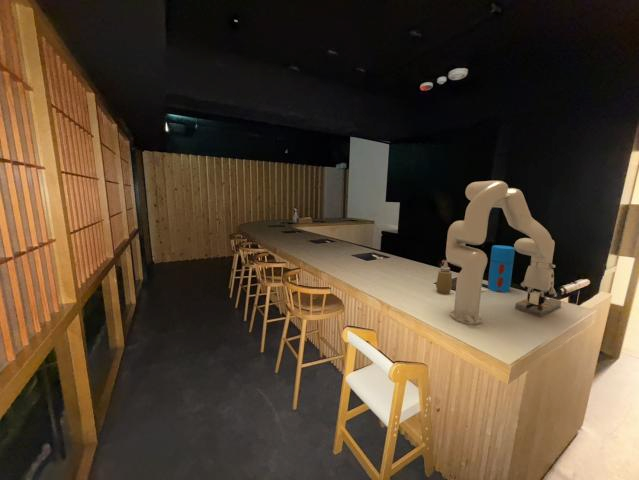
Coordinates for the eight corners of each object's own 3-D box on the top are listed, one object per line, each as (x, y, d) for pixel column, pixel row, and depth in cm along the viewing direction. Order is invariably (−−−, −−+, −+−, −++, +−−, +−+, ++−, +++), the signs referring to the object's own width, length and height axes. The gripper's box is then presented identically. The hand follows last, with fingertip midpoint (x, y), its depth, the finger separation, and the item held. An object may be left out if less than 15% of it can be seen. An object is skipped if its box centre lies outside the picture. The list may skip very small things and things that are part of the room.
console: (535, 300, 139) (536, 294, 139) (560, 306, 131) (561, 300, 130) (515, 309, 128) (515, 302, 128) (540, 317, 120) (541, 310, 119)
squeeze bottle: (449, 296, 144) (452, 263, 141) (433, 293, 149) (436, 261, 146) (452, 292, 150) (455, 260, 147) (437, 289, 155) (439, 258, 152)
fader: (532, 303, 130) (534, 291, 129) (541, 305, 127) (542, 293, 126) (528, 304, 128) (530, 292, 127) (537, 307, 125) (539, 294, 124)
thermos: (488, 290, 153) (492, 247, 148) (486, 285, 162) (491, 244, 158) (511, 294, 148) (516, 249, 143) (508, 288, 157) (513, 246, 153)
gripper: (567, 268, 119) (560, 307, 122) (523, 260, 133) (519, 295, 136) (560, 270, 115) (553, 310, 118) (516, 262, 129) (511, 298, 132)
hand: (535, 302), depth 127 cm, fingers closed on fader, 3 cm apart
